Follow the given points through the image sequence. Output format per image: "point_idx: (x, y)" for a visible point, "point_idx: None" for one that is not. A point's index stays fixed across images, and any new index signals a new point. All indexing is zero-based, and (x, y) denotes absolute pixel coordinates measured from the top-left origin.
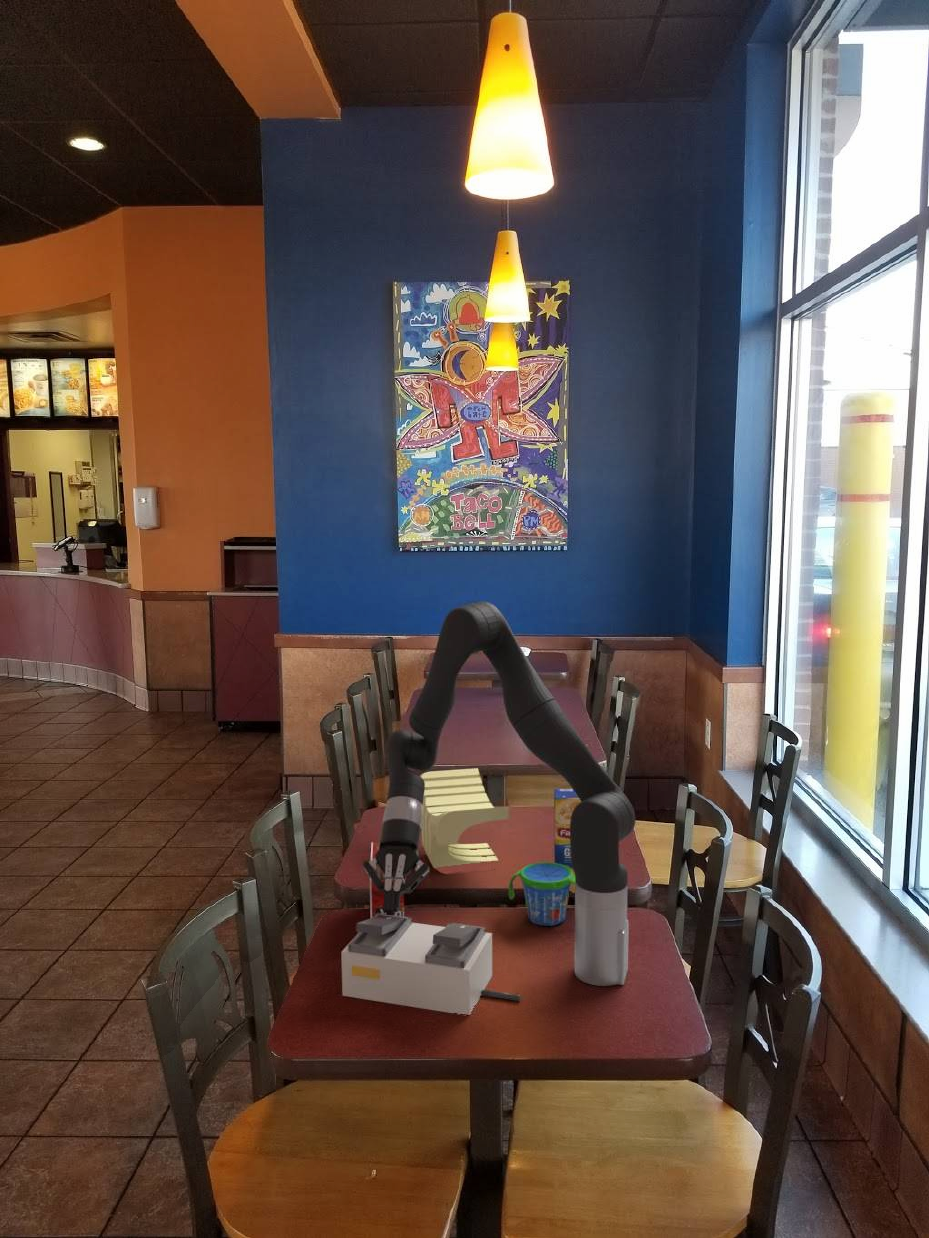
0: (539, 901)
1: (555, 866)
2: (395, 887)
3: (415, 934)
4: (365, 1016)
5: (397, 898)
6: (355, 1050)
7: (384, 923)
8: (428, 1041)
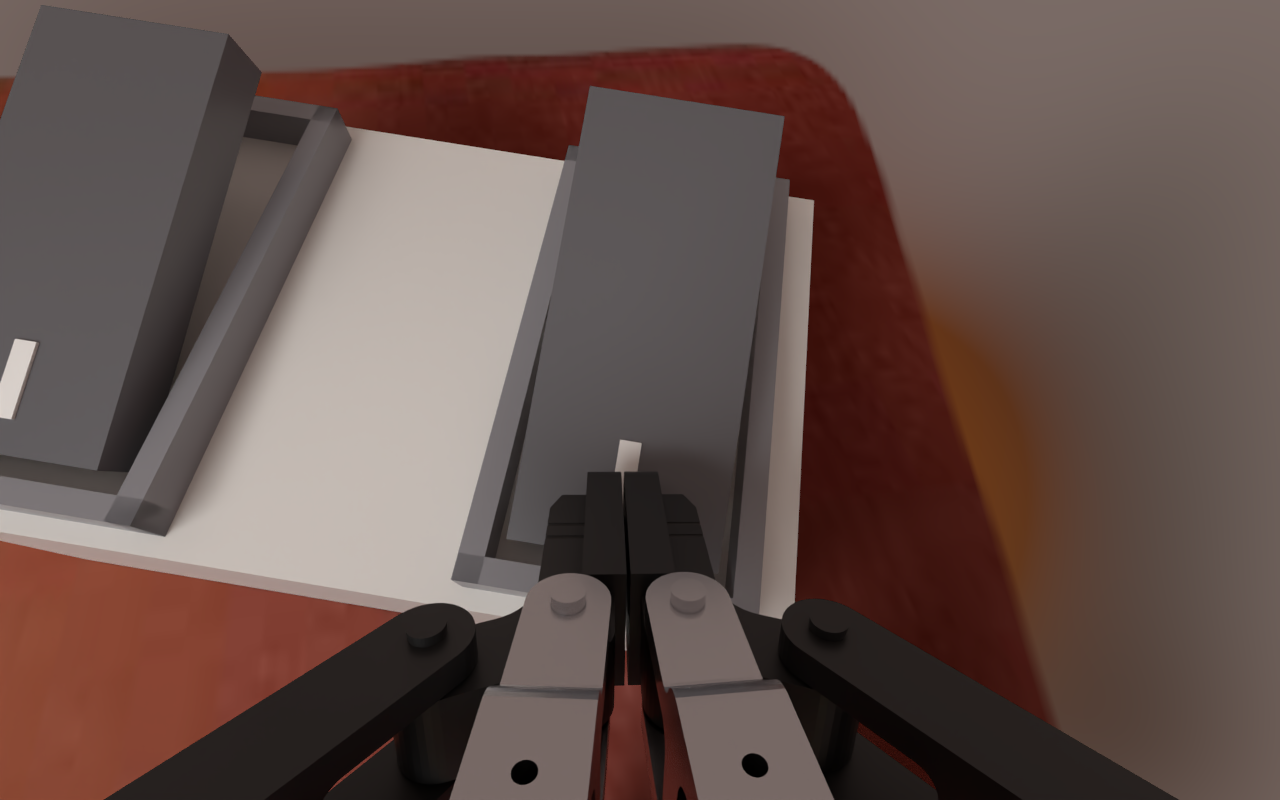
0: None
1: None
2: (588, 607)
3: (422, 426)
4: None
5: (559, 557)
6: (617, 73)
7: (604, 219)
8: (401, 118)
